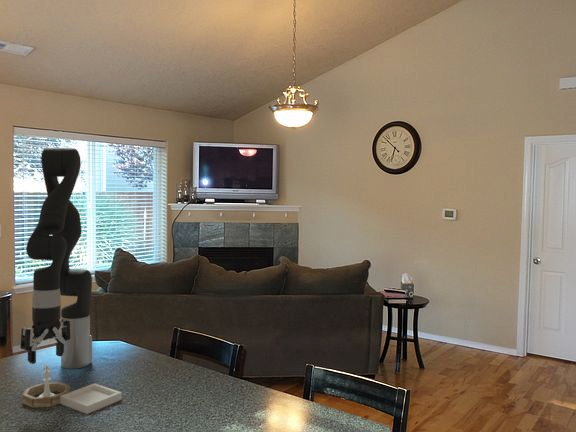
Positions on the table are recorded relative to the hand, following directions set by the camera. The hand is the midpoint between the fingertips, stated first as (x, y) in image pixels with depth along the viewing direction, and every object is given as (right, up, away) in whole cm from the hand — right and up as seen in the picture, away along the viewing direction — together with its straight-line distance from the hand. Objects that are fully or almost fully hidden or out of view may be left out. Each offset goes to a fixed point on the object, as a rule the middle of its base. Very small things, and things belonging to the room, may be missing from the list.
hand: (46, 359), depth 155 cm
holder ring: (0, -12, +1) cm, 12 cm away
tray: (+13, -12, 0) cm, 18 cm away
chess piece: (0, -12, +1) cm, 12 cm away
